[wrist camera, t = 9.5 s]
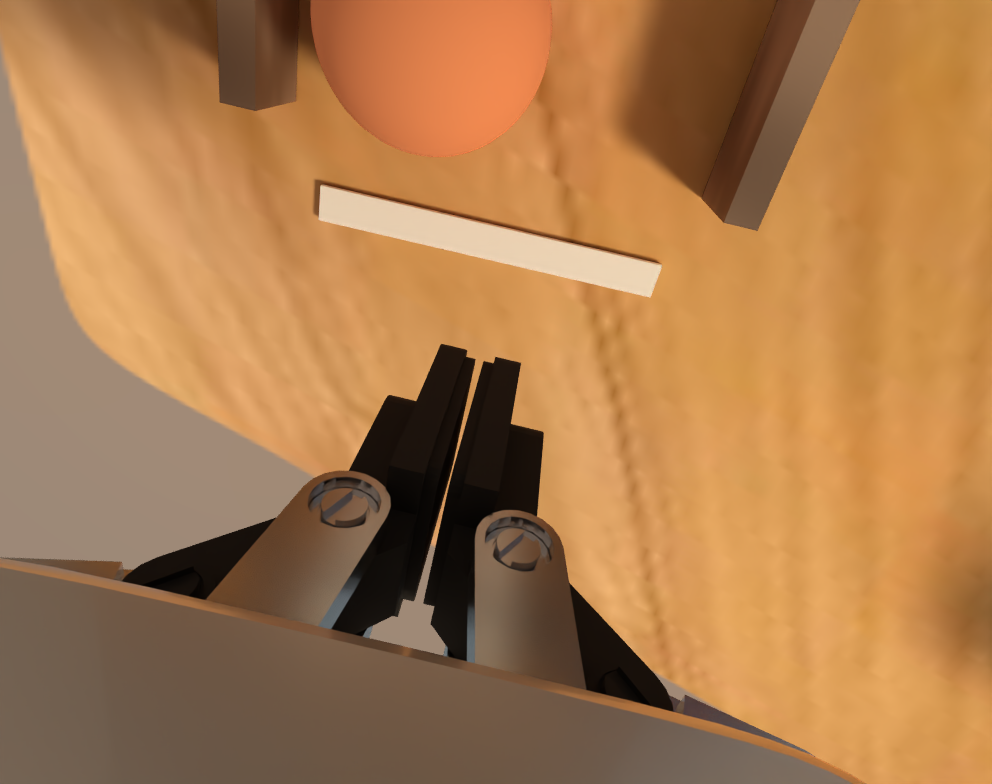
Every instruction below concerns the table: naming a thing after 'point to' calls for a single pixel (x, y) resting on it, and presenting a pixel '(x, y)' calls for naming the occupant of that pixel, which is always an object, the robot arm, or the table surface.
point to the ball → (433, 67)
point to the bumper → (748, 142)
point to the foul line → (487, 241)
